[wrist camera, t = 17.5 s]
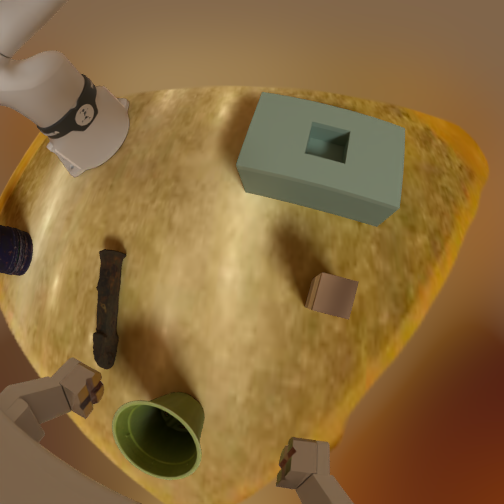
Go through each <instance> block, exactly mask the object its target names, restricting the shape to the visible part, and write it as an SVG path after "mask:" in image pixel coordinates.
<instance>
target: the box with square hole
mask: <svg viewBox="0 0 504 504" xmlns="http://www.w3.org/2000/svg"><path fill="white" fill-rule="evenodd" d="M404 147H405V128H403V127H400V126H397V125H394V124H392V123H389V122H386V121H383V120H380V119H377V118H374V117H370V116H367V115H364V114H360V113H357V112H354V111H350V110H346V109H343V108H339V107H335V106H331V105H327V104H323V103H318V102H314V101H309V100H305V99H300V98H295V97H289V96H284V95H278V94H272V93H265V92H262V94H261V97H260V99H259V102H258V105H257V107H256V110H255V113H254V115H253V118H252V121H251V124H250V126H249V129H248V132H247V135H246V137H245V140H244V143H243V146H242V149H241V152H240V154H239V157H238V160H237V163H236V167H237V170H238V172H239V175H240V178H241V181H242V183H243V186H244V189H245V192H247V193H252V194H256V195H261V196H265V197H269V198H273V199H277V200H281V201H285V202H289V203H293V204H297V205H301V206H305V207H309V208H313V209H317V210H320V211H324V212H328V213H331V214H335V215H339V216H342V217H346V218H349V219H353V220H356V221H360V222H363V223H366V224H370V225H373V226H376V227H377V226H378V225H379V224H381V223H382V222H383V221H384V220H386V219H387V218H388V217H389V216H390V215H392V214H393V213H394V212H395V211H397V210H398V209H399V208H400V200H401V190H402V179H403V166H404Z"/></svg>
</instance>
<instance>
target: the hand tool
mask: <svg viewBox="0 0 504 504" xmlns="http://www.w3.org/2000/svg"><path fill="white" fill-rule="evenodd" d="M99 254H100V259H101V267H100V278H99V281H98V286H97V287H96V288H97V290H98V304H97V328H96V332H95V333H93V342H94V345H93V349H94V351H93V354H94V359H95V361H96V362H97V364H98V366H100V367H101V368H104V369H109V368H111V367H112V366H113V364H114V361H115V357H116V352H117V344H118V335H117V334H116V324H117V313H118V297H119V290H120V276H121V266H122V261H123V259H124V258H125V257H126V254H123V253H121V252H118V251H114V250H106V249H104V250H102V251H100V252H99Z"/></svg>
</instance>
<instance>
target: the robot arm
mask: <svg viewBox="0 0 504 504" xmlns="http://www.w3.org/2000/svg"><path fill="white" fill-rule="evenodd" d="M67 1H68V0H0V105H2V106H6V107H10V108H12V109H14V110H16V111H18V112H19V113H21V114H22V115H24V116H25V117H27V118H28V119H30V120H31V121H33V122H34V123H35V124H36V125H37V127H38V129H40V131H41V132H42V133H43V134H44V135H47V136H48V138H49V139H50V142H49V143H48V145H47V148H48V149H49V150H50V151H51V152H54V153H55V154H56V155H57V156H58V157H59V159H60V160H61V162H62V163H63V165H64V166H65V167H66V169H67V170H68V172H69V173H70V174H71V175H72V176H73V177H77V176H79V175H80V174H81V173H83V172H84V171H86V170H88V169H91V168H95V167H97V166H99V165H101V164H103V163H104V162H106V161H107V160H108V159H109V158H111V157H112V156H113V155H114V154H115V152H116V151H117V150H118V149H119V148H120V146H121V145H122V143H123V141H124V140H125V138H126V135H127V133H128V129H129V117H128V113H127V111H128V107H129V101H128V100H127V99H124V98H116V97H115V96H114V95H113V94H112V93H111V92H110V91H109V90H108V89H107V88H106V87H105V86H96V87H95V85H94V84H93V83H92V81H91V80H90V79H89V78H87V77H86V76H85V75H83V74H80V73H79V72H78V70H77V69H76V68H75V67H74V66H73V65H72V63H71V62H70V61H69V60H68V59H67V58H66V57H65V56H64V54H62V53H61V52H59V51H45V52H42V53H39V54H37V55H34V56H32V57H30V58H28V59H24V60H13V59H11V58H12V56H13V55H14V54H15V53H16V52H17V51H18V49H20V48H21V47H22V46H23V45H24V44H25V43H26V42H27V41H28V40H29V39H30V38H31V37H32V36H33V35H34V34H35V33H36V32H38V31H39V30H40V29H41V28H42V27H43V26H44V25H45V24H46V23H47V22H48V21H49V20H50V19H51V18H52V17H53V16H54V15H55V14H56V13H57V11H59V10H60V9H61V8H62V6H63V5H64V4H65V3H66V2H67ZM101 379H102V376H101V373H100V372H98V371H96V370H94V369H92V368H90V367H89V366H87V365H85V364H83V363H82V362H80V361H78V360H77V359H75V358H70V359H69V360H68V361H67V362H66V363H65V364H64V365H63V366H62V367H61V368H60V369H59V370H58V371H57V372H56V373H55V374H54V375H53V376H52V377H51V378H50V377H44V378H40V379H35V380H31V381H27V382H23V383H18V384H14V385H9V386H8V387H6V388H5V389H4V390H3V391H2V392H1V393H0V504H141V503H139V502H136V501H134V500H132V499H130V498H128V497H126V496H123V495H121V494H119V493H117V492H115V491H113V490H111V489H109V488H107V487H106V486H104V485H101V484H100V483H98V482H96V481H95V480H93V479H91V478H89V477H88V476H86V475H84V474H83V473H81V472H79V471H78V470H76V469H75V468H73V467H71V466H70V465H68V464H67V463H65V462H64V461H62V460H60V459H59V458H58V457H57V456H55V455H54V454H52V453H51V452H49V451H48V450H47V449H46V448H44V447H43V446H42V445H40V444H39V442H40V440H41V439H42V438H43V436H44V435H45V434H44V431H43V429H42V428H41V426H40V424H41V423H43V422H46V421H48V420H51V419H53V418H56V417H58V416H61V415H63V414H66V413H68V412H70V411H71V410H72V411H73V412H75V413H77V414H78V415H80V416H82V417H84V418H85V419H86V418H87V417H88V416H89V414H90V413H91V412H92V410H93V404H96V403H98V402H99V401H100V400H101V398H102V396H103V393H104V386H103V384H102V382H101V381H100V380H101ZM329 462H330V461H329V443H328V442H324V441H316V440H310V439H302V438H295V437H292V438H290V440H289V442H288V445H287V446H285V447H284V449H283V451H282V453H281V456H280V461H279V466H280V467H281V470H280V471H279V473H278V475H277V483H276V486H277V487H283V488H289V489H296V492H297V494H298V496H299V498H300V500H301V502H302V504H354V503H353V502H352V501H351V499H349V497H348V495H347V494H346V493H345V491H344V490H343V489H342V487H341V486H340V485H339V483H338V482H337V480H336V479H335V478H334V476H332V475H330V463H329Z"/></svg>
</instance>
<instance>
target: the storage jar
mask: <svg viewBox="0 0 504 504" xmlns="http://www.w3.org/2000/svg"><path fill="white" fill-rule="evenodd" d="M32 254H33V244H32V239H31V237H30V235H29V234H28V233H27V232H24V231H21V230H19V229H17V228H12V227H9V226H7V227H5V226H2V225H0V273H5V274H9V275H19V276H20V275H23V274H24V273H25V272H26V271H27V270H28V268H29V266H30V263H31V260H32Z"/></svg>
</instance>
